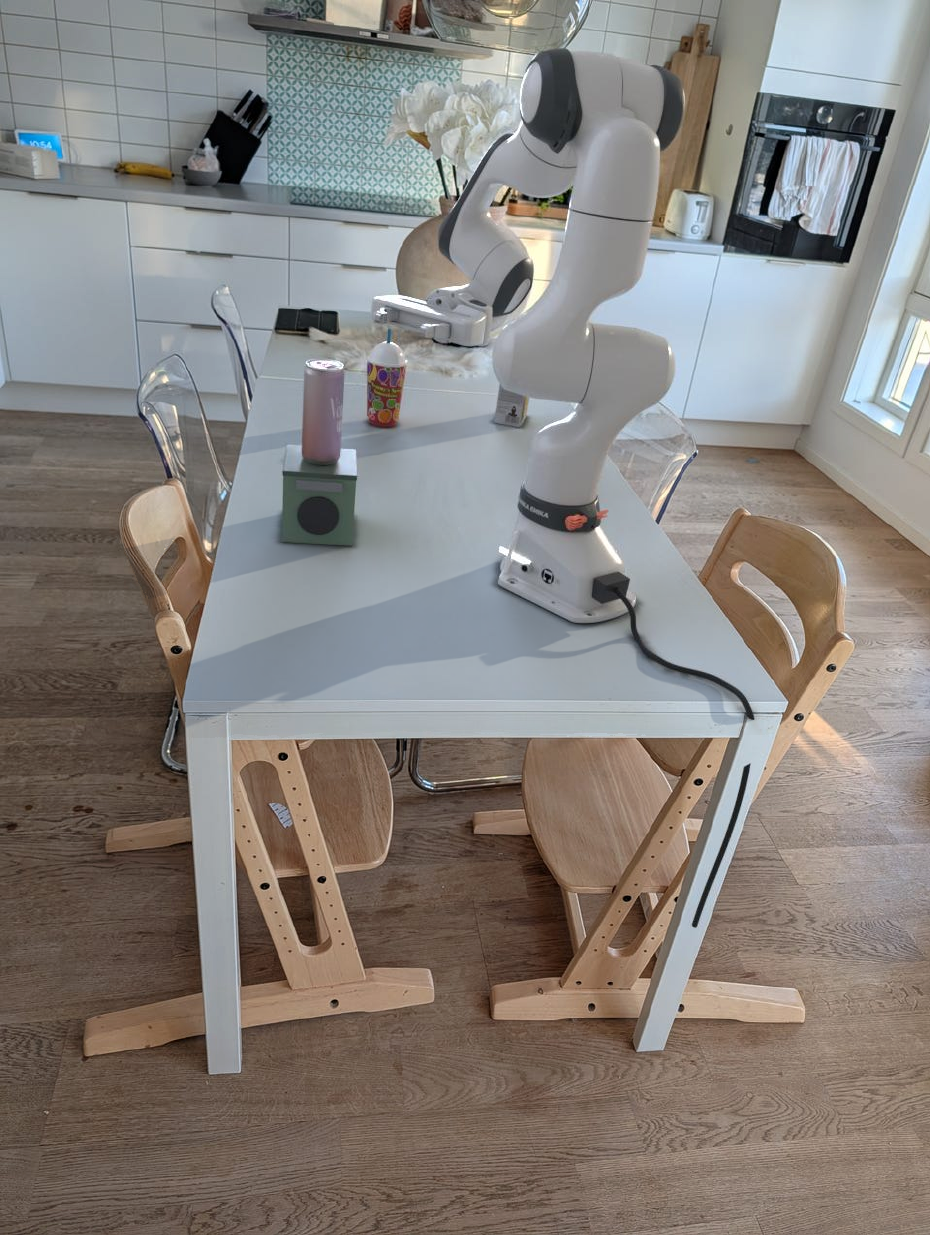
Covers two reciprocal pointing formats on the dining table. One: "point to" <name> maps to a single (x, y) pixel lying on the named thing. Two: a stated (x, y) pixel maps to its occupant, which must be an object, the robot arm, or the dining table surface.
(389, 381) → the smoothie
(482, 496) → the dining table surface
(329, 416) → the beverage can
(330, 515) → the washer stand
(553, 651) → the dining table surface
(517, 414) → the coffee box
